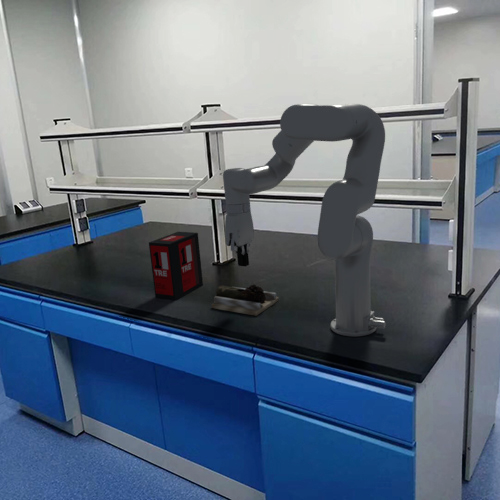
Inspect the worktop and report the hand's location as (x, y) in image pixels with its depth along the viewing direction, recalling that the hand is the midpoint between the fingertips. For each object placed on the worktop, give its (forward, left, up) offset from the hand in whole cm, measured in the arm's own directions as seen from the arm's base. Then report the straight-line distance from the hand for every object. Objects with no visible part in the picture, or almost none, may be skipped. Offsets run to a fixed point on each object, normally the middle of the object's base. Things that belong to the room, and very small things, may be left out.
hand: (243, 265), depth 161 cm
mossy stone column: (+1, +1, -12) cm, 12 cm away
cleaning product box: (+30, -2, -14) cm, 33 cm away
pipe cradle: (0, 0, -13) cm, 13 cm away
